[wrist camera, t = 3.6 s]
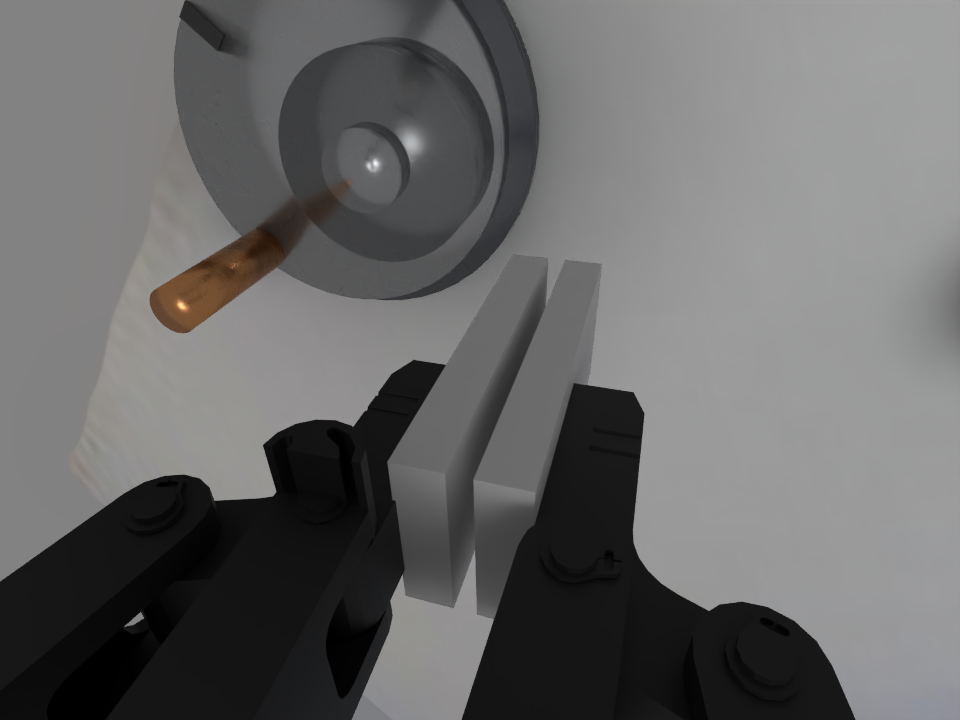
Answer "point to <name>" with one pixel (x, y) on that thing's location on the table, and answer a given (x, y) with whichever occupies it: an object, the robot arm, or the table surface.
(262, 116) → the platter
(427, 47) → the cover
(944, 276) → the table surface
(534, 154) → the turntable base
